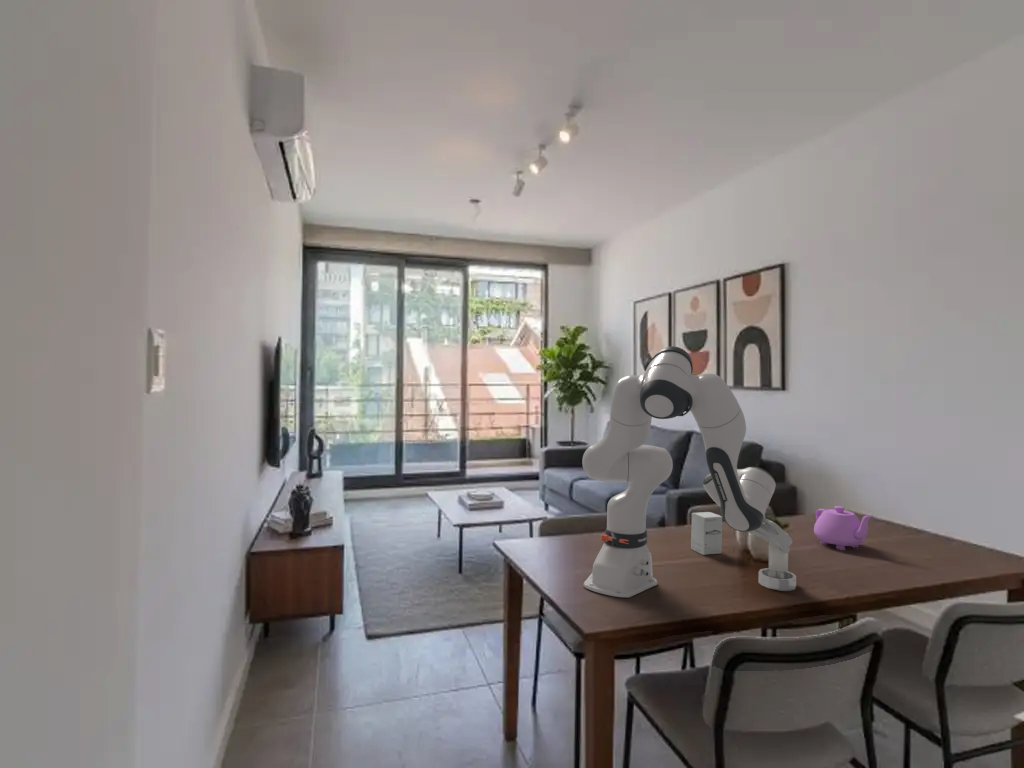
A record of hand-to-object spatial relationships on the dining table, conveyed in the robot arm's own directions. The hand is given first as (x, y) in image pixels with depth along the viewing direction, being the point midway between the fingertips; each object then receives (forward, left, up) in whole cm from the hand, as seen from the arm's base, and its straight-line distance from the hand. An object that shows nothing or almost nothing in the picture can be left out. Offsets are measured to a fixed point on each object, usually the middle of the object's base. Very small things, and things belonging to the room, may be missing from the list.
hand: (780, 547), depth 156 cm
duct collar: (0, +1, -11) cm, 11 cm away
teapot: (+54, -11, -11) cm, 56 cm away
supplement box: (+19, +26, -11) cm, 34 cm away
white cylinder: (0, 0, -6) cm, 6 cm away
